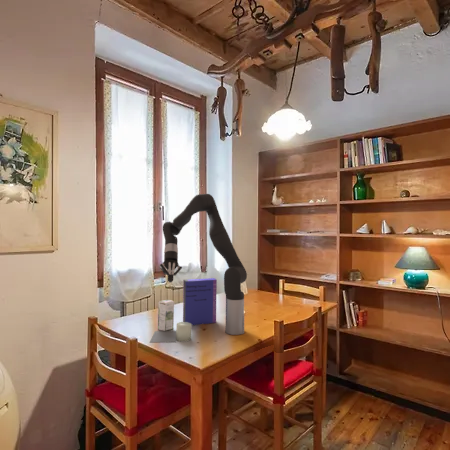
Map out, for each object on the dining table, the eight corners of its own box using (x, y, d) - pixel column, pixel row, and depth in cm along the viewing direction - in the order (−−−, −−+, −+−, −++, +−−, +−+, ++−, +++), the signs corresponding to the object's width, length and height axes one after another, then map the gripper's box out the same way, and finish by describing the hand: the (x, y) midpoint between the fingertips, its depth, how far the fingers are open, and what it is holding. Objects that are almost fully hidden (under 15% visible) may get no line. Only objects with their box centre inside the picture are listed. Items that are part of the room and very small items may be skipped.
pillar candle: (190, 336, 165) (191, 322, 165) (190, 341, 158) (191, 326, 158) (176, 335, 165) (177, 321, 165) (175, 341, 158) (176, 326, 158)
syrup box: (166, 327, 179) (166, 299, 180) (173, 329, 175) (174, 300, 176) (157, 329, 175) (158, 300, 175) (165, 331, 171) (165, 302, 172)
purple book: (213, 320, 192) (213, 277, 192) (216, 322, 188) (216, 279, 187) (182, 323, 186) (183, 279, 185) (185, 326, 182) (185, 281, 181)
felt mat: (178, 331, 172) (178, 331, 172) (176, 342, 157) (176, 342, 157) (154, 332, 171) (154, 331, 171) (149, 342, 156) (149, 342, 156)
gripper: (161, 248, 188) (160, 277, 179) (184, 251, 193) (184, 280, 184) (157, 254, 194) (156, 283, 185) (180, 257, 199) (180, 285, 190)
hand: (170, 281), depth 184 cm, fingers closed
